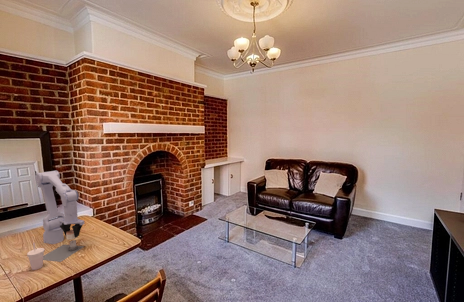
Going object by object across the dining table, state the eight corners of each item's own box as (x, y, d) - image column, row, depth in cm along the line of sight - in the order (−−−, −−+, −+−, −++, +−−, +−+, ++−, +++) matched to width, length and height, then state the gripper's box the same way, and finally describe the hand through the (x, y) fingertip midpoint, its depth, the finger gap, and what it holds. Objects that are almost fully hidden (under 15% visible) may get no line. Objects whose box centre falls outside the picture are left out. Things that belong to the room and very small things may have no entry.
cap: (64, 239, 119) (63, 233, 119) (72, 234, 125) (71, 228, 124) (72, 239, 119) (72, 233, 118) (80, 235, 124) (80, 229, 124)
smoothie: (35, 266, 109) (33, 239, 108) (49, 265, 110) (47, 239, 108) (24, 274, 103) (22, 246, 101) (39, 274, 103) (36, 246, 102)
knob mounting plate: (37, 262, 113) (36, 251, 112) (63, 246, 127) (62, 237, 127) (61, 264, 111) (60, 253, 110) (84, 248, 125) (84, 238, 125)
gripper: (52, 214, 118) (54, 238, 119) (76, 216, 115) (77, 240, 117) (64, 210, 124) (65, 232, 126) (86, 211, 122) (88, 234, 124)
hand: (72, 236), depth 122 cm, fingers closed on cap, 5 cm apart
